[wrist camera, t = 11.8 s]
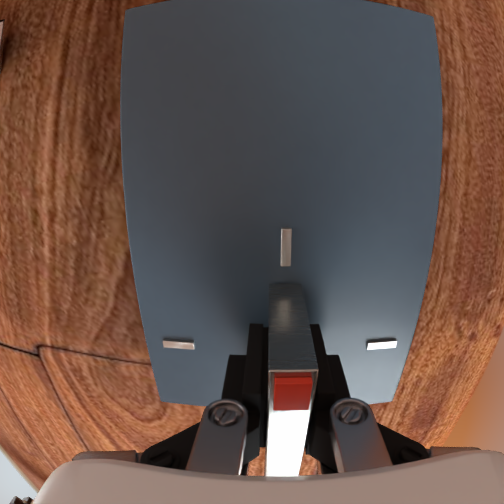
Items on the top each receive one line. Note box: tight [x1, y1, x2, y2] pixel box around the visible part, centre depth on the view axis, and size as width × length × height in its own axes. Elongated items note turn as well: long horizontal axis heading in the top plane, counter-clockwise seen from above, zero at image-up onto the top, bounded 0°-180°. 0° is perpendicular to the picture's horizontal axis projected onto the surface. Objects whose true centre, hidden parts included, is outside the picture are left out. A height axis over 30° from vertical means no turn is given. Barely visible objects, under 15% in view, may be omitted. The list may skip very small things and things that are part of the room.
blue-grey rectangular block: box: [120, 0, 442, 406], centre depth 13 cm, size 19×12×3 cm, turn 1°
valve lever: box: [264, 283, 319, 476], centre depth 10 cm, size 6×1×5 cm, turn 0°
